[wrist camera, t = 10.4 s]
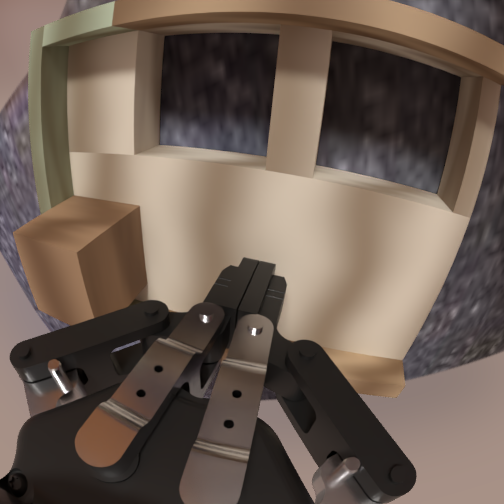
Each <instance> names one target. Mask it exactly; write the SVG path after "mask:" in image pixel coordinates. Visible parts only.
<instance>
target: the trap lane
mask: <svg viewBox="0 0 504 504" xmlns="http://www.w3.org/2000/svg"><path fill="white" fill-rule="evenodd" d="M195 33H262V34H277V35H280V36H279V46H278V56H277V65H276V75H275V84H274V93H273V103H272V112H271V122H270V131H269V140H268V149H267V157H265V156H258V155H251V154H243V153H236V152H228V151H219V150H210V149H201V148H190V147H179V146H166V145H159V141H160V99H161V78H162V62H163V49H164V38H165V36H168V35H180V34H195ZM332 41H334V42H340V43H346V44H351V45H356V46H361V47H365V48H370V49H374V50H378V51H382V52H386V53H390V54H394V55H397V56H401V57H404V58H408V59H411V60H414V61H417V62H420V63H424V64H427V65H430V66H432V67H435V68H438V69H441V70H444V71H446V72H449V73H451V74H454V75H457V76H459V77H461V82H460V90H459V97H458V103H457V109H456V115H455V121H454V126H453V131H452V136H451V141H450V145H449V150H448V154H447V158H446V163H445V167H444V170H443V174H442V178H441V182H440V185H439V189H438V193H437V194H434V193H431V192H427V191H424V190H420V189H417V188H413V187H409V186H406V185H402V184H398V183H394V182H390V181H386V180H382V179H378V178H374V177H369V176H365V175H361V174H356V173H352V172H347V171H342V170H338V169H333V168H328V167H323V166H317V165H316V160H317V153H318V147H319V140H320V134H321V127H322V120H323V113H324V105H325V98H326V90H327V82H328V74H329V66H330V57H331V48H332ZM501 85H504V45H502V44H500V43H498V42H496V41H494V40H492V39H490V38H488V37H486V36H484V35H482V34H480V33H478V32H476V31H474V30H472V29H469V28H467V27H465V26H463V25H460V24H458V23H455V22H453V21H450V20H448V19H445V18H443V17H440V16H437V15H435V14H432V13H429V12H426V11H423V10H420V9H417V8H414V7H411V6H408V5H404V4H401V3H397V2H393V1H390V0H118V1H114V2H111V3H107V4H104V5H100V6H97V7H94V8H91V9H87V10H84V11H81V12H79V13H76V14H73V15H70V16H67V17H65V18H62V19H60V20H57V21H55V22H52V23H50V24H47V25H45V26H43V27H41V28H38V29H36V30H34V31H32V32H31V41H30V55H29V75H28V106H29V128H30V142H31V152H32V161H33V169H34V177H35V184H36V190H37V196H38V202H39V207H40V212H41V214H43V213H44V212H46V211H48V210H49V209H51V208H53V207H54V206H56V205H58V204H60V203H61V202H63V201H65V200H67V199H68V198H70V197H72V196H74V195H75V196H82V197H89V198H95V199H101V200H108V201H114V202H120V203H126V204H133V205H139V206H140V214H141V227H142V238H143V248H144V257H145V266H146V274H147V282H148V284H147V285H146V286H145V287H144V289H143V290H142V291H141V292H140V293H139V294H138V296H137V297H136V298H135V299H134V300H133V301H132V303H131V304H130V305H129V306H132V305H135V304H138V303H141V302H144V301H147V300H158V301H161V302H163V303H165V304H166V305H167V307H168V309H169V312H188V311H189V310H190V308H191V307H192V306H194V305H196V304H198V303H202V302H203V301H204V299H205V298H206V296H207V295H208V293H209V291H210V290H211V288H212V286H213V285H214V284H215V281H216V280H217V278H218V276H219V275H220V273H221V271H222V270H223V269H225V268H226V267H228V266H230V265H232V266H237V267H238V266H239V264H240V263H241V261H242V259H243V257H246V258H250V259H255V260H259V261H264V262H269V263H273V264H276V268H275V274H274V275H277V276H282V277H285V280H286V283H287V288H286V293H285V298H284V303H283V307H282V312H281V315H280V319H279V322H278V326H277V330H278V332H279V333H280V334H281V335H282V336H283V337H284V338H285V339H287V340H289V341H291V342H295V341H297V340H311V341H314V342H316V343H317V344H319V345H320V346H321V347H322V348H323V349H324V351H325V352H326V353H327V354H328V356H329V357H330V358H331V360H332V361H333V362H334V364H335V365H336V366H337V367H338V369H339V370H340V371H341V373H342V374H343V375H344V376H345V378H346V379H347V380H348V382H349V383H350V384H351V386H352V387H353V388H354V389H355V391H356V392H357V393H360V394H367V395H375V396H384V397H392V398H397V397H398V395H399V394H400V393H401V391H402V390H403V389H404V387H405V379H404V371H403V362H402V360H403V358H404V356H405V355H406V353H407V351H408V350H409V348H410V346H411V345H412V343H413V341H414V340H415V338H416V336H417V334H418V333H419V331H420V329H421V327H422V325H423V323H424V322H425V320H426V318H427V316H428V314H429V312H430V310H431V308H432V306H433V304H434V302H435V300H436V298H437V296H438V294H439V292H440V290H441V288H442V286H443V284H444V282H445V279H446V277H447V275H448V273H449V271H450V268H451V266H452V264H453V261H454V259H455V257H456V254H457V252H458V249H459V247H460V244H461V242H462V239H463V236H464V234H465V231H466V228H467V226H468V223H469V220H470V217H471V214H472V211H473V208H474V205H475V202H476V199H477V196H478V193H479V189H480V186H481V183H482V179H483V175H484V172H485V168H486V164H487V160H488V156H489V152H490V147H491V143H492V138H493V133H494V128H495V123H496V117H497V111H498V105H499V98H500V90H501ZM129 306H128V307H129ZM228 351H229V349H227V348H226V350H225V352H224V355H223V356H222V361H223V360H225V359H226V357H227V354H228ZM221 363H222V362H221Z"/></svg>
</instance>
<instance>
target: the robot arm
mask: <svg viewBox="0 0 504 504" xmlns="http://www.w3.org/2000/svg"><path fill="white" fill-rule="evenodd" d="M275 268H276V264H273V263H269V262H264V261H259V260H255V259H250V258H246V257H243V259H242V261H241V263H240V264H239V266H238V267H237V266H232V265H230V266H228V267H226V268H225V269H223V270H222V271H221V273H220V275H219V276H218V278H217V280H216V281H215V284H214V285H213V286H212V288H211V290H210V291H209V293H208V295H207V296H206V298H205V299H204V301H203V302H202V303H198V304H196V305H194V306H192V307H191V308H190V310H189V311H188V312H169V309H168V307H167V305H166V304H165V303H163V302H161V301H158V300H147V301H144V302H141V303H138V304H135V305H132V306H129V307H126V308H123V309H120V310H117V311H114V312H111V313H108V314H105V315H102V316H99V317H96V318H93V319H90V320H87V321H84V322H81V323H78V324H75V325H72V326H69V327H66V328H62V329H59V330H56V331H53V332H50V333H47V334H44V335H41V336H38V337H35V338H32V339H28V340H25V341H22V342H20V343H18V344H17V345H16V346H15V347H14V348H13V349H12V351H11V353H10V361H11V363H12V365H13V366H14V368H15V370H16V371H17V373H18V374H19V377H20V378H21V380H22V381H23V383H24V388H25V393H26V398H27V403H28V407H29V411H30V416H31V418H30V419H28V420H27V421H26V422H25V423H24V425H23V426H22V428H21V430H20V432H19V435H18V440H17V450H16V455H15V459H14V463H13V466H12V468H11V470H10V472H9V473H8V474H7V475H6V476H5V477H3V478H2V479H0V504H387V503H389V502H391V501H393V500H395V499H396V498H398V497H400V496H402V495H404V494H406V493H407V492H409V491H410V490H411V489H412V488H413V486H414V484H415V482H416V470H415V468H414V466H413V464H412V463H411V462H410V460H409V459H408V458H407V457H406V455H405V454H404V453H403V451H402V450H401V449H400V448H399V446H398V445H397V444H396V442H395V441H394V440H393V439H392V437H391V436H390V435H389V434H388V432H387V431H386V430H385V428H384V427H383V426H382V424H381V423H380V422H379V420H378V419H377V418H376V417H375V415H374V414H373V413H372V412H371V410H370V409H369V408H368V406H367V405H366V404H365V402H364V401H363V400H362V398H361V397H360V396H359V395H358V393H357V392H356V391H355V389H354V388H353V387H352V386H351V384H350V383H349V382H348V380H347V379H346V378H345V376H344V375H343V374H342V373H341V371H340V370H339V369H338V367H337V366H336V365H335V364H334V362H333V361H332V360H331V358H330V357H329V356H328V354H327V353H326V352H325V351H324V349H323V348H322V347H321V346H320V345H319V344H317V343H316V342H314V341H311V340H297V341H295V342H291V341H289V340H287V339H285V338H284V337H283V336H282V335H281V334H280V333H279V332H278V330H277V326H278V322H279V319H280V315H281V312H282V307H283V303H284V298H285V293H286V288H287V283H286V280H285V277H282V276H277V275H274V274H275ZM137 340H140V342H141V343H138V344H135V345H133V346H130V347H127V348H124V349H122V350H119V351H116V352H112V351H113V350H114V349H115V348H118V347H121V346H123V345H126V344H129V343H132V342H134V341H137ZM226 348H227V349H229V351H228V354H227V357H226V359H225V360H223V361H222V356H223V355H224V352H225V350H226ZM111 352H112V353H111ZM221 362H222V363H221ZM220 364H221V366H220ZM219 366H220V369H219V372H218V376H217V379H216V382H215V385H214V388H213V391H212V394H211V397H210V399H208V398H203V396H204V393H205V392H206V390H207V388H208V386H209V384H210V383H211V381H212V379H213V377H214V375H215V374H216V372H217V370H218V368H219ZM263 386H265V387H266V388H268V389H270V390H272V391H273V392H275V393H276V398H277V400H278V402H279V403H280V405H281V407H282V408H283V410H284V412H285V413H286V415H287V417H288V418H289V420H290V422H291V423H292V425H293V427H294V428H295V430H296V432H297V433H298V435H299V437H300V438H301V440H302V441H303V443H304V445H305V446H306V448H307V449H308V451H309V453H310V454H311V456H312V457H313V459H314V461H315V462H316V464H317V465H318V467H319V469H318V470H317V471H316V472H315V474H314V476H313V479H312V485H313V488H314V491H315V494H316V500H315V503H314V502H313V500H312V498H311V497H310V495H309V493H308V491H307V489H306V488H305V486H304V484H303V482H302V481H301V479H300V477H299V475H298V473H297V471H296V470H295V468H294V466H293V464H292V462H291V460H290V459H289V457H288V455H287V453H286V451H285V449H284V447H283V446H282V443H281V441H280V440H279V438H278V436H277V435H276V433H275V432H274V431H273V429H272V428H271V427H270V426H269V425H268V424H266V423H265V422H264V421H263V420H261V419H260V418H258V417H257V415H258V410H259V405H260V400H261V395H262V390H263Z"/></svg>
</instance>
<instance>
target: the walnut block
mask: <svg viewBox="0 0 504 504" xmlns="http://www.w3.org/2000/svg"><path fill="white" fill-rule="evenodd" d="M13 235H14V238H15V242H16V245H17V249H18V252H19V256H20V259H21V262H22V265H23V268H24V271H25V274H26V277H27V280H28V283H29V286H30V288H31V291H32V294H33V296H34V299H35V302H36V304H37V307H38V309H39V310H41V311H43V312H44V313H46V314H48V315H50V316H52V317H54V318H56V319H58V320H60V321H62V322H64V323H67V324H69V325H71V326H72V325H75V324H78V323H81V322H84V321H87V320H90V319H93V318H96V317H99V316H102V315H105V314H108V313H111V312H114V311H117V310H120V309H123V308H126V307H128V306H129V305H130V304H131V303H132V301H133V300H134V299H135V298H136V297H137V296H138V294H139V293H140V292H141V291H142V290H143V289H144V287H145V286H146V285H147V284H148V282H147V274H146V266H145V257H144V248H143V238H142V227H141V214H140V206H139V205H133V204H126V203H120V202H114V201H108V200H101V199H95V198H89V197H82V196H75V195H74V196H72V197H70V198H68V199H67V200H65V201H63V202H61V203H60V204H58V205H56V206H54V207H53V208H51V209H49V210H48V211H46V212H44V213H43V214H41V215H39V216H38V217H36V218H35V219H33V220H31V221H30V222H28V223H27V224H25V225H24V226H22V227H21V228H19V229H17V230H16V231H14V232H13Z"/></svg>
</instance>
